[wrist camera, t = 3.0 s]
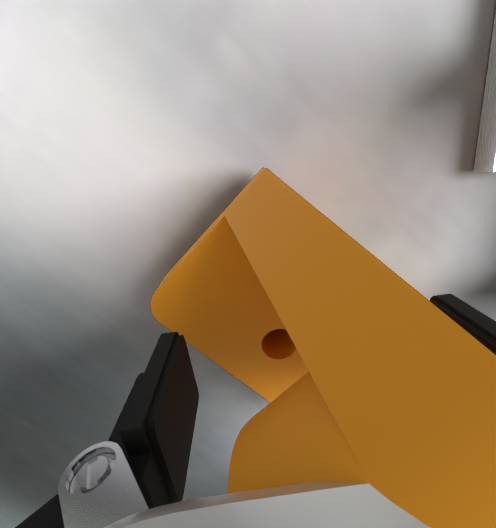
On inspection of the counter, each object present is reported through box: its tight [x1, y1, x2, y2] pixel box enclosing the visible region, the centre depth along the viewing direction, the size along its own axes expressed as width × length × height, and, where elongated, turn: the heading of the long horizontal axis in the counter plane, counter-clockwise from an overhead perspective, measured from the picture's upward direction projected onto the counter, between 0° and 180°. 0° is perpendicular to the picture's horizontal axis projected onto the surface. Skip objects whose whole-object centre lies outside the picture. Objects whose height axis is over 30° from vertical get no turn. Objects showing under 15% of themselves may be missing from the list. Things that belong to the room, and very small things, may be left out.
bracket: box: [150, 168, 496, 528], centre depth 9 cm, size 11×7×12 cm
